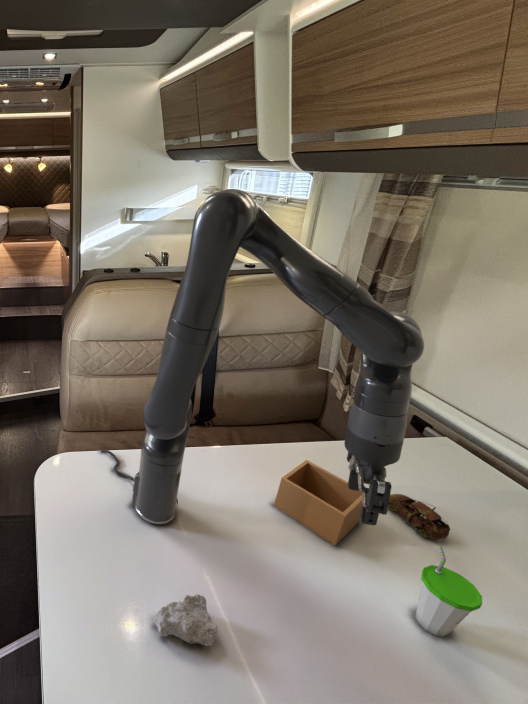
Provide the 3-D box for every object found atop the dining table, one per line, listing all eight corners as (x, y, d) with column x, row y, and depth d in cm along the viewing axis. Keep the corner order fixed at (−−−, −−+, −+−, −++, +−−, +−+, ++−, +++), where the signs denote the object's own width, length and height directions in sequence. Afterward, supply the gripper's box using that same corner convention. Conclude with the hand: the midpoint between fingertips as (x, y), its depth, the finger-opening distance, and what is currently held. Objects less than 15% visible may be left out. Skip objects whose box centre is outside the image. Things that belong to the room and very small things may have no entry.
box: (334, 545, 93) (345, 516, 90) (273, 505, 104) (281, 477, 101) (358, 522, 99) (369, 493, 96) (298, 486, 110) (306, 459, 107)
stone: (220, 650, 74) (226, 628, 72) (167, 660, 73) (171, 638, 71) (197, 604, 82) (201, 583, 79) (148, 612, 80) (151, 592, 78)
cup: (465, 656, 73) (501, 597, 67) (407, 631, 77) (436, 573, 71) (454, 616, 79) (486, 559, 74) (400, 595, 83) (427, 539, 77)
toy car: (454, 539, 95) (462, 523, 93) (428, 544, 94) (436, 528, 92) (401, 498, 106) (408, 483, 104) (378, 503, 105) (384, 487, 103)
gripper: (338, 404, 79) (328, 475, 84) (359, 450, 67) (345, 530, 72) (389, 409, 76) (374, 483, 81) (420, 458, 64) (401, 541, 69)
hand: (361, 505), depth 77 cm, fingers open, 8 cm apart
